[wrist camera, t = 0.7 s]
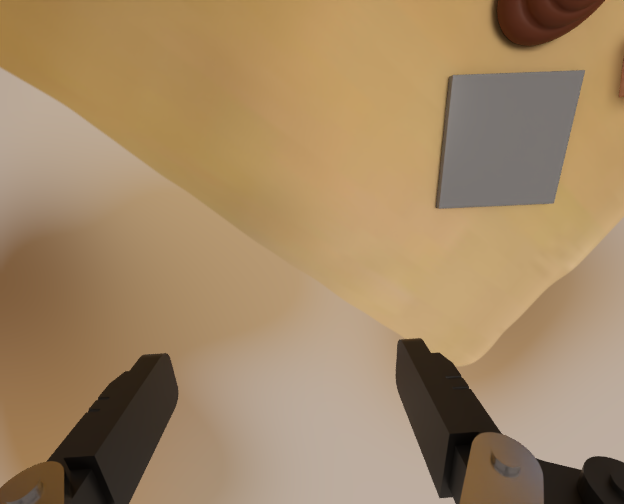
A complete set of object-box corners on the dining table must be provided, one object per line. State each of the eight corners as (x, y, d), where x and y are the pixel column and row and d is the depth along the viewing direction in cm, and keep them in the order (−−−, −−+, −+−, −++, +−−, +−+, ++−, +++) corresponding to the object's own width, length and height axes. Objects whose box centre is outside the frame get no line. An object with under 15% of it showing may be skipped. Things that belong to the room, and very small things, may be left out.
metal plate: (449, 76, 31) (452, 75, 31) (578, 72, 32) (585, 70, 31) (436, 207, 36) (438, 208, 35) (548, 202, 36) (553, 203, 35)
